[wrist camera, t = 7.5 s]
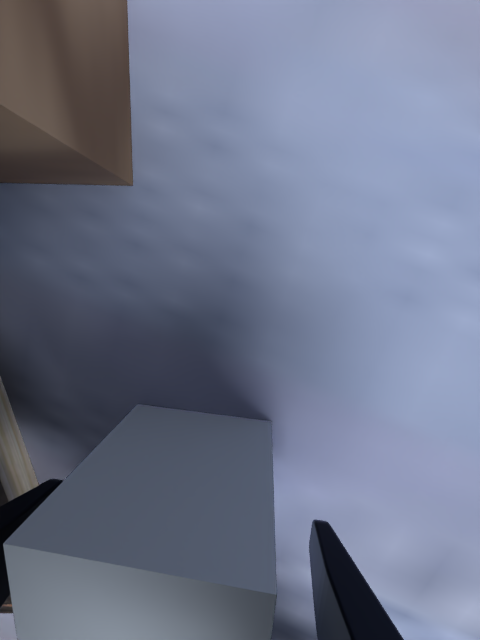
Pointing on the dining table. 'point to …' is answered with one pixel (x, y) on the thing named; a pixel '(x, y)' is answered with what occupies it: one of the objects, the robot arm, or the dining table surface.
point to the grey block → (154, 536)
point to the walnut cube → (65, 92)
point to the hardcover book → (12, 463)
